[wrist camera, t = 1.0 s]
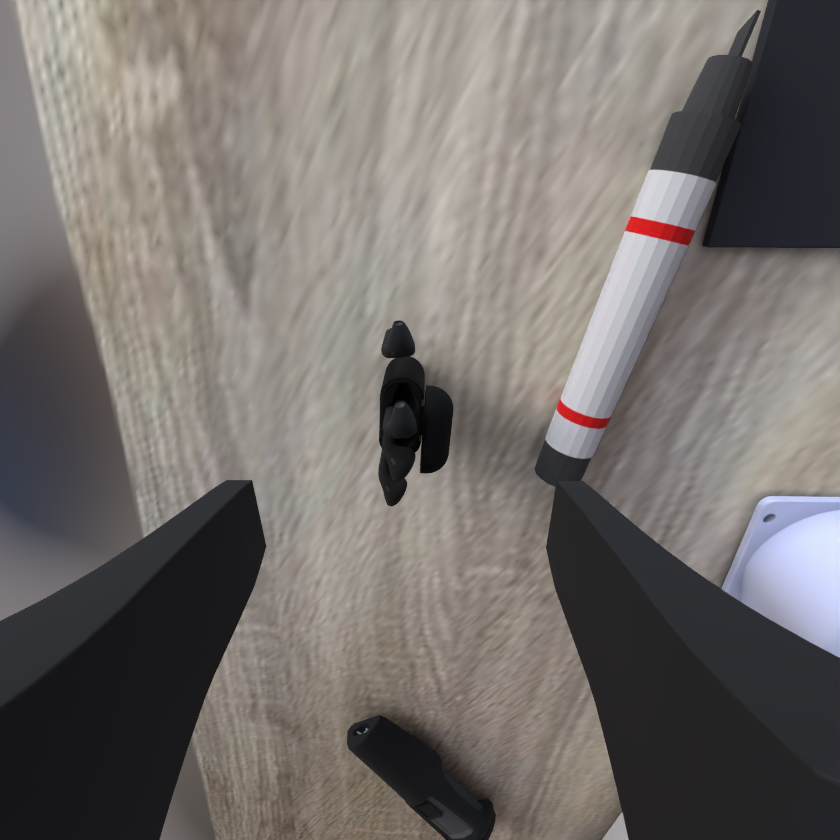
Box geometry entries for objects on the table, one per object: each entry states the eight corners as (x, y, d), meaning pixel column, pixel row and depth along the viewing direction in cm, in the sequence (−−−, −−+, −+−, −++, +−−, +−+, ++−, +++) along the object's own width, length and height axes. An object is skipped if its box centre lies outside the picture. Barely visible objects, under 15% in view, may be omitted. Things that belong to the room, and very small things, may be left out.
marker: (572, 466, 20) (586, 493, 18) (529, 458, 20) (539, 484, 18) (759, 34, 13) (810, 10, 11) (696, 16, 13) (738, -11, 11)
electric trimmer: (388, 686, 28) (383, 741, 25) (498, 802, 34) (504, 858, 31) (337, 703, 29) (327, 759, 26) (453, 814, 35) (455, 869, 32)
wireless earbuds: (388, 299, 17) (373, 340, 12) (455, 304, 17) (465, 346, 12) (383, 459, 20) (370, 537, 16) (439, 462, 20) (443, 541, 16)
